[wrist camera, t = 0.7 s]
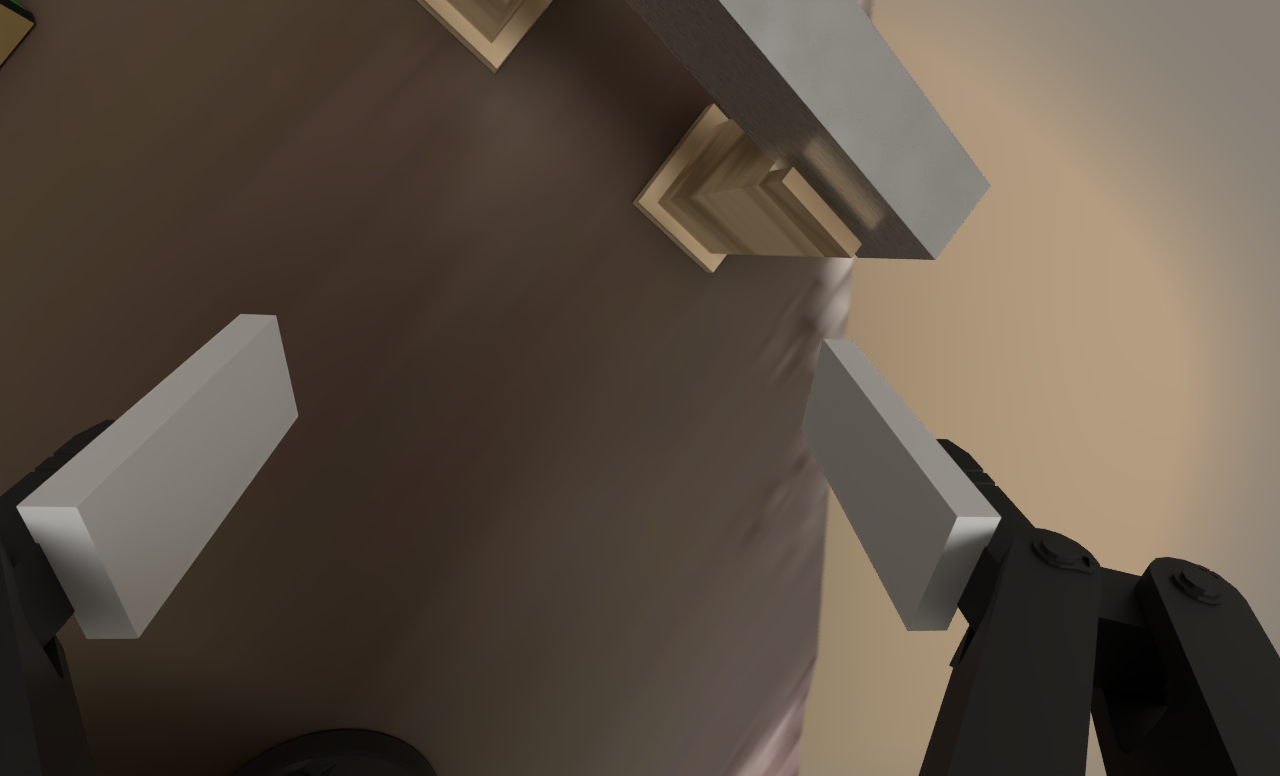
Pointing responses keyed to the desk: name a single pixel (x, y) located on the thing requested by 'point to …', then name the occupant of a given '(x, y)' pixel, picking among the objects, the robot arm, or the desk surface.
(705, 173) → the post
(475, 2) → the post
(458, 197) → the desk surface
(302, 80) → the desk surface
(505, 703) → the desk surface
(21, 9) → the puzzle cube
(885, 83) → the rail
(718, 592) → the desk surface
